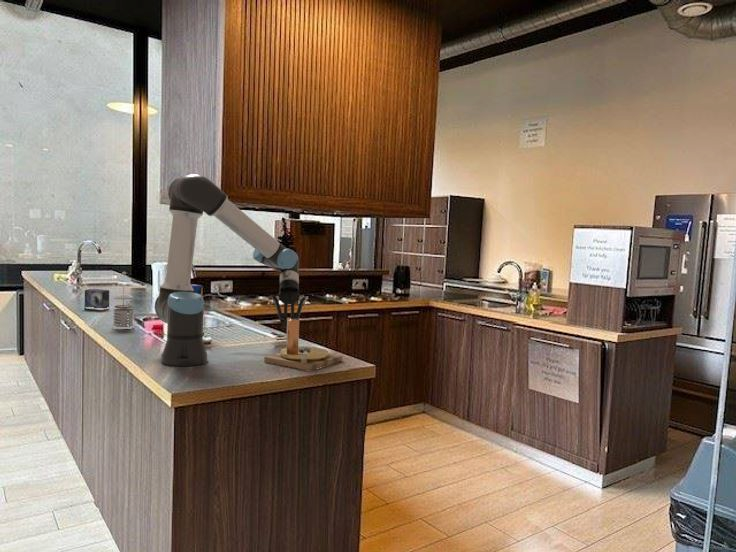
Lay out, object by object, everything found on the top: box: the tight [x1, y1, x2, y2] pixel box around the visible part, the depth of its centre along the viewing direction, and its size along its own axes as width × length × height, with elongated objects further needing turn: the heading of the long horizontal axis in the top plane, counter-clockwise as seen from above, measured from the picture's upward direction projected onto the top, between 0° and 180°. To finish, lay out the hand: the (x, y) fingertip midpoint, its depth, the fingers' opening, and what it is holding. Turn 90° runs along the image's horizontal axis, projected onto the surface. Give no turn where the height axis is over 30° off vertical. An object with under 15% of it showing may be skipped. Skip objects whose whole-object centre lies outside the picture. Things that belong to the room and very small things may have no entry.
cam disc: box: [280, 318, 329, 361], centre depth 197 cm, size 17×17×14 cm
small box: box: [84, 288, 110, 308], centre depth 290 cm, size 11×6×10 cm, turn 80°
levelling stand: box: [264, 352, 344, 372], centre depth 198 cm, size 20×20×5 cm
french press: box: [112, 271, 135, 327], centre depth 242 cm, size 10×12×25 cm
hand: (288, 334), depth 202 cm, fingers closed
